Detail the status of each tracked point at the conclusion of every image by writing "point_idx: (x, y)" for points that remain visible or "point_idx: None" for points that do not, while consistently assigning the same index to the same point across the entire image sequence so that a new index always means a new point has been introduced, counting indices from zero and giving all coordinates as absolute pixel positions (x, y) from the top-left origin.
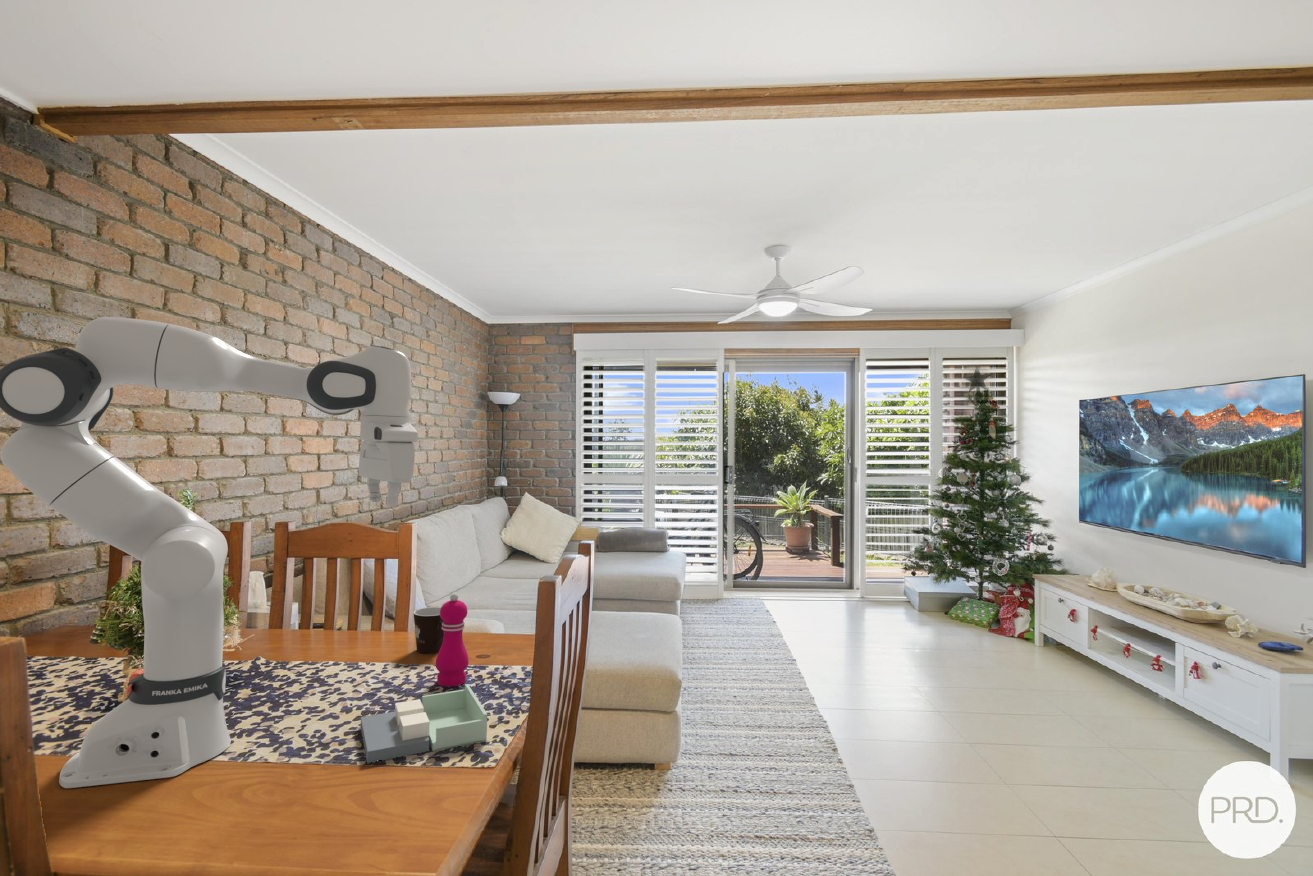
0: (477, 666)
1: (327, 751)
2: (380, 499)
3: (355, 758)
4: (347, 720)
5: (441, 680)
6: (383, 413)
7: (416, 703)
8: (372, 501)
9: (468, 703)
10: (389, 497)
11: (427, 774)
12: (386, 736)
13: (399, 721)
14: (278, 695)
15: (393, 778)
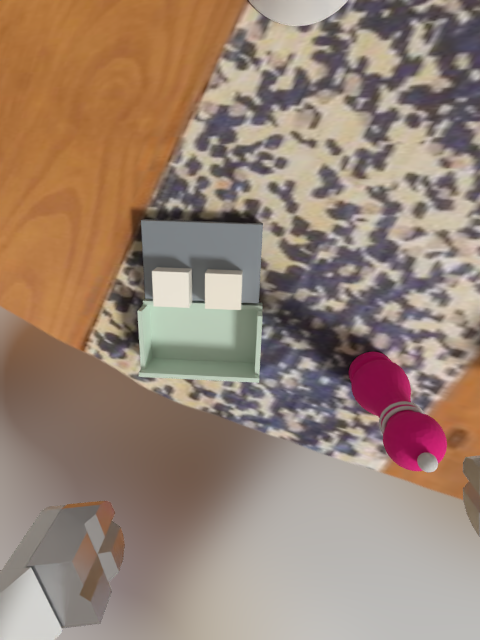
0: None
1: (203, 172)
2: (473, 524)
3: (166, 206)
4: (299, 208)
5: (362, 358)
6: None
7: (226, 302)
8: (475, 458)
9: (232, 368)
10: (8, 572)
11: (91, 281)
12: (178, 249)
13: (189, 271)
14: (476, 102)
15: (95, 243)
